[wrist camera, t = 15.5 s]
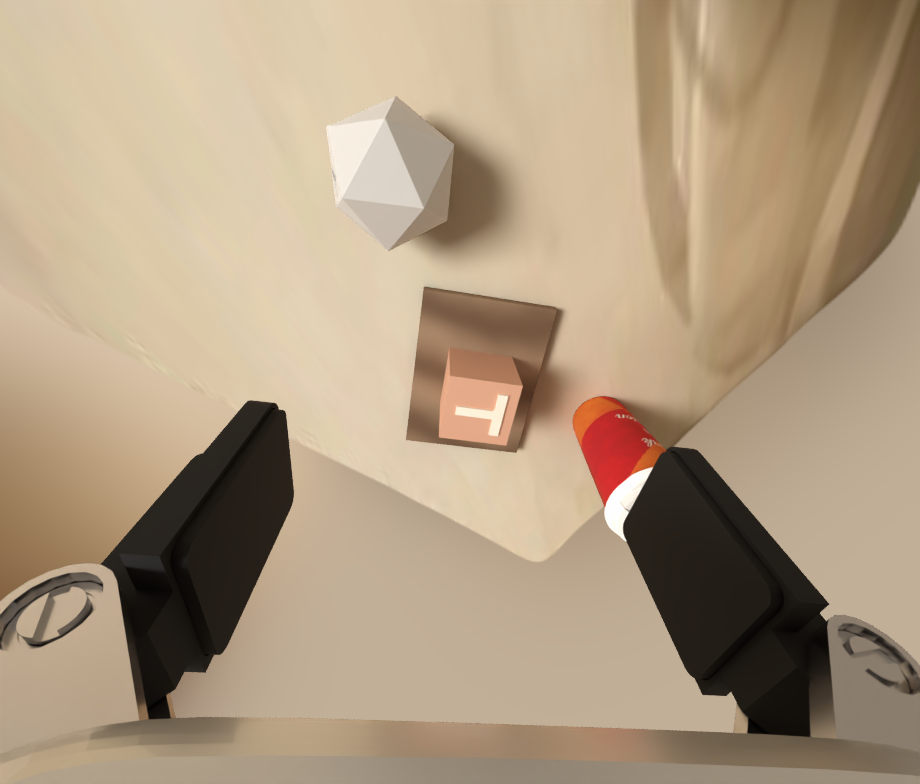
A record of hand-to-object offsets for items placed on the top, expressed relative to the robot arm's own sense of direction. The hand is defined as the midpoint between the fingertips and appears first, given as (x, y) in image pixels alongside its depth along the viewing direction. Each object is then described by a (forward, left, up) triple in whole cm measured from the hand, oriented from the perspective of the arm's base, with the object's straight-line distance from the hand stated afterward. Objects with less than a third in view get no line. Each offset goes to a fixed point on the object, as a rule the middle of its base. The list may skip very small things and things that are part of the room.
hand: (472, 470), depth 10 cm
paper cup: (+13, +18, -27) cm, 35 cm away
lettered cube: (+10, +4, -26) cm, 28 cm away
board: (+10, +4, -27) cm, 29 cm away
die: (-6, -5, -27) cm, 28 cm away
